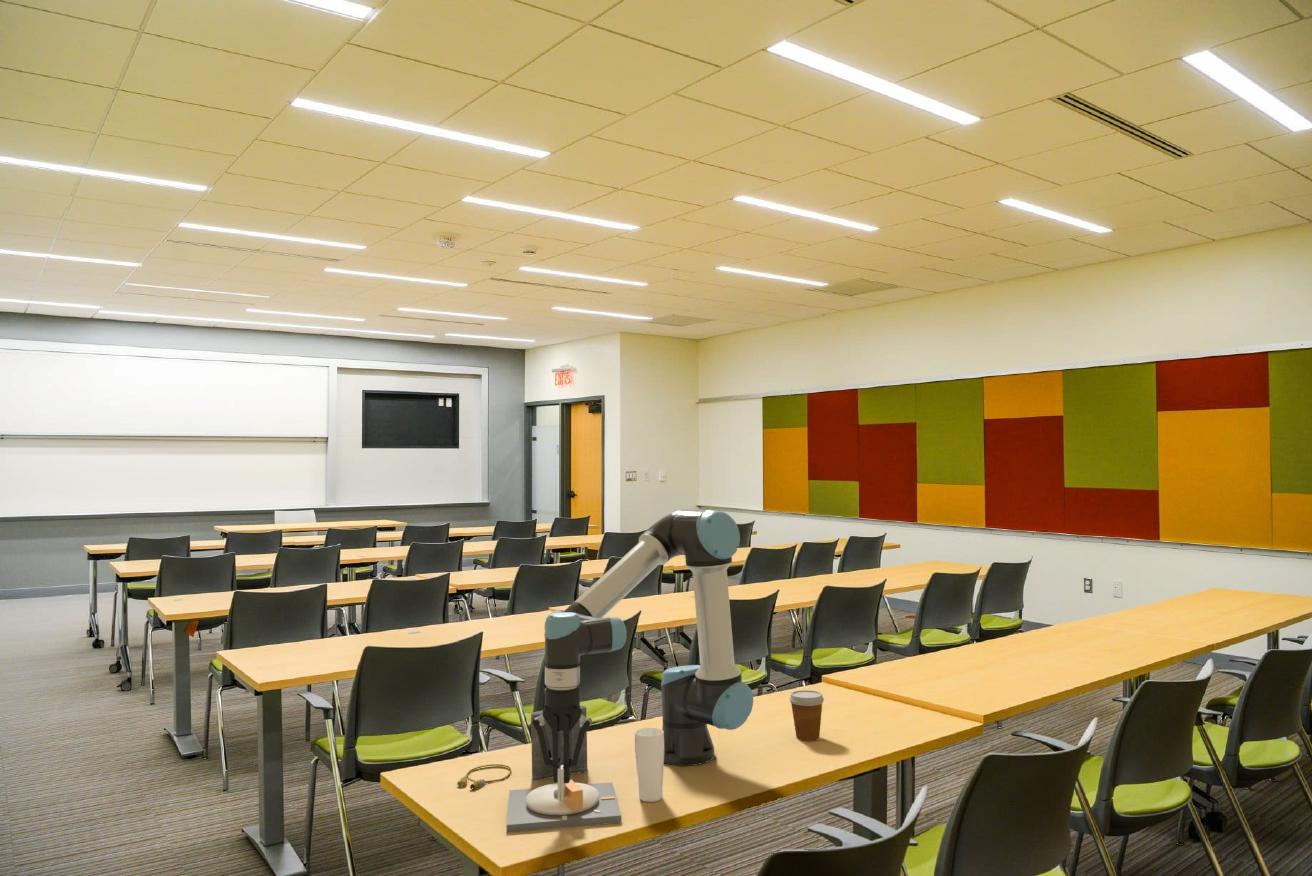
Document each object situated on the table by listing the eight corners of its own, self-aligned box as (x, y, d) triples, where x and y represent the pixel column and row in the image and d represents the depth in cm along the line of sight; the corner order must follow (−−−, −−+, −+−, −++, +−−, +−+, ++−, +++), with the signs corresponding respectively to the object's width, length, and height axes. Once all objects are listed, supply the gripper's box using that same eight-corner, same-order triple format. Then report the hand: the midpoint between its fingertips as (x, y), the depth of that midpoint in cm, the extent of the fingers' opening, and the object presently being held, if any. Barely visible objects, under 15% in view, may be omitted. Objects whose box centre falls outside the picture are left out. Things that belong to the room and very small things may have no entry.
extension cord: (442, 782, 207) (442, 774, 207) (495, 765, 218) (495, 758, 218) (469, 794, 198) (469, 785, 198) (524, 776, 209) (523, 768, 209)
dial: (517, 795, 190) (517, 772, 190) (583, 783, 197) (583, 760, 198) (541, 823, 175) (541, 797, 175) (612, 808, 182) (612, 784, 182)
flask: (529, 776, 208) (528, 703, 209) (584, 766, 214) (582, 695, 215) (534, 781, 204) (532, 706, 205) (589, 771, 211) (587, 698, 212)
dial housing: (612, 788, 198) (612, 781, 198) (621, 822, 178) (621, 814, 178) (509, 796, 195) (509, 789, 195) (506, 832, 175) (506, 824, 175)
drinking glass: (629, 799, 191) (628, 732, 192) (651, 791, 196) (649, 725, 197) (650, 806, 187) (648, 738, 187) (671, 798, 191) (670, 731, 192)
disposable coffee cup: (789, 742, 230) (787, 697, 230) (791, 731, 239) (790, 689, 240) (824, 744, 227) (823, 699, 228) (825, 733, 237) (824, 690, 237)
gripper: (528, 689, 178) (528, 803, 177) (588, 691, 177) (587, 805, 175) (537, 681, 186) (537, 790, 184) (594, 682, 184) (594, 793, 183)
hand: (561, 798), depth 180 cm, fingers closed
